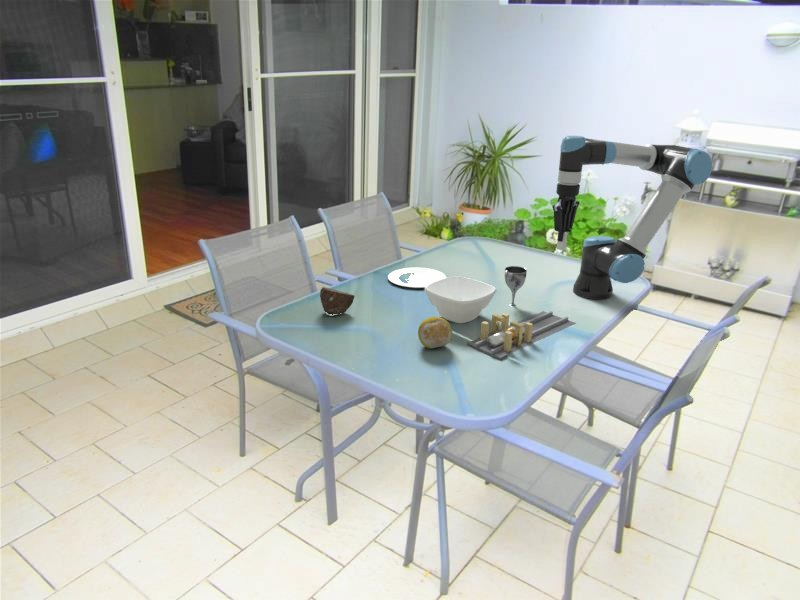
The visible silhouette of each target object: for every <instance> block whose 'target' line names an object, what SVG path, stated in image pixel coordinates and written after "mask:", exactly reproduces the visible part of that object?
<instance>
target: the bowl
mask: <svg viewBox="0 0 800 600" xmlns="http://www.w3.org/2000/svg"><path fill="white" fill-rule="evenodd" d="M423 289H424V292H425V294H426V295H427V297H428V300H429V301H430V304H431V305H433V306H434V307H435V308H436V311H437V312H438V314H439V316H440V317H441V318H443V319H445V320H446V321H450V322H453V323H457V324H465V323H468V322H472V321H474V320H476V319H477V318H478V317H479V316H480V314H481V313H482V311H483V309H485V308H487V307H488V306H489V304H490V303H491V301H492V299H493V298H494V296H495V294H496V293H497V288H496V287H494V286H493V285H491V284H490V283H489V284H488V283H486V282H483V281H481V280H477V279H474V278H469V277H467V276H466V277H465V276H460V275H456V276H449V277H447V278H444V279H441V280H438V281H435V282H433V283H431V284H429V285H427V286H426V287H425V288H423Z"/></svg>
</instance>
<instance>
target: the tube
mask: <svg viewBox="0 0 800 600" xmlns="http://www.w3.org/2000/svg"><path fill="white" fill-rule="evenodd" d="M525 323H528V322H523V323H520V324H522V325H523V333H522V336H523V335H524V333H525ZM506 331H510V332H512V333H513V334H512V340H514V337H515V327H511V328H509V329H506V330H504V331H501V332H499V333H497V334H494V335H492V336H489V337H488V338H487V345H488V346H489V347H490V348H496V347H498V346H500V345H502V344H504V337H505V332H506Z"/></svg>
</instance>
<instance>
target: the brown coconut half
mask: <svg viewBox="0 0 800 600" xmlns="http://www.w3.org/2000/svg"><path fill="white" fill-rule="evenodd" d="M319 298H320V303H321V306H322V308H323V311H325V312H327V313H328V314H332V315H333V314H340V313H342V314H344V313H346V312H347V311H348V309H349V308H350V307H351V306H352V305H353V303H354V299H355V295H354V294H352V293H349V292H347V291H345V292H343V291H341V290H338V289H337V290H336V289H334V288H329V287H325V286H323V287H321V289H320V293H319ZM325 312H324V313H325ZM340 315H341V314H340Z"/></svg>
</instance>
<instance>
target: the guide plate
mask: <svg viewBox="0 0 800 600" xmlns="http://www.w3.org/2000/svg"><path fill="white" fill-rule="evenodd" d="M501 316H502V317H505V320H504V321H503V322H500V323H501V324H500V328H499V329H498V333H499V332H501V331H504V330H506V329H509V328H511V327H512V326H510V322H509V321H510V314H509V313H506V312H504V313H502V314H501ZM516 322H517V323H523V322H528V323H525V333H524V335H523V336H522V343H521V346H519V347H517V346H515V345H514V340H512V334H513V333H512V332H510V331H506V332H505V337H504V344H502V345H500V346H498V347H496V348H490V347H489V346H488V345H487V338H488V337H489V336H491V332H489V326H490V322H488V321H486V320H485V321H482V322H481V325H480V337H477V338H475V339H473V340H470V341H468V342H467V343H466V344H467V346H469V347H471V348H473V349H475V350H478V351H480V352H482V353H484V354H486V355H488V356H490V357H493V358H495V359H497V360H499V361H502V360H504V359H506V358H509V357H510V354H512V353H514V352H517V351H519V350H521V349H523V348H525V347H528V346H530V345H532V344H534V343H536V342H539V341H540V340H542V339H545V338H548V337H550V336H552V335H553V334H555V333H558V332H560V331H562V330H565V329H566V328H568V327H571V326H572V325H575V324H576V322H574V321H571V320H569V316H565V317H563V318H562V317H560V316H558V315H555V314H554V311H551V310H550V311H548V312H546V311H544V310H543V311H540V312H538V313H535V314H533V315H531V316H528V317H526V318H523V319H521V320H519V321H516Z"/></svg>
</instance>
